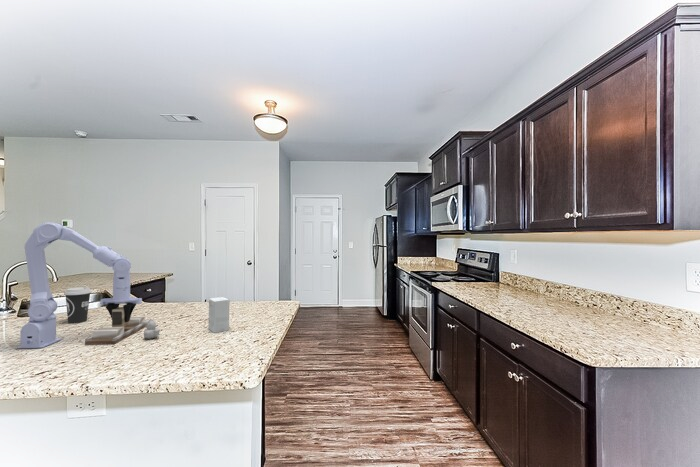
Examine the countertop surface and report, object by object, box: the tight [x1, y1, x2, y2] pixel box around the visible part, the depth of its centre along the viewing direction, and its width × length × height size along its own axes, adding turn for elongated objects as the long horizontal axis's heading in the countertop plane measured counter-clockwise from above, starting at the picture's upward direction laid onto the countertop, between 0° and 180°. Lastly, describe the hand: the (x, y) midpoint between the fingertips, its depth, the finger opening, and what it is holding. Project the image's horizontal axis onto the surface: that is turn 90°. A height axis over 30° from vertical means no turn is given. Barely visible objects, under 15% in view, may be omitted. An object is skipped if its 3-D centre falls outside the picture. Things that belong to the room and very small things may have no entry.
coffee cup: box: [63, 286, 92, 324], centre depth 146 cm, size 10×10×15 cm
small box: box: [207, 296, 230, 333], centre depth 137 cm, size 8×6×13 cm
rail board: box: [84, 315, 150, 346], centre depth 129 cm, size 26×10×4 cm, turn 7°
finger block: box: [111, 306, 130, 327], centre depth 129 cm, size 6×4×7 cm
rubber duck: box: [143, 317, 161, 340], centre depth 124 cm, size 5×7×8 cm
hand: (121, 321), depth 129 cm, fingers closed on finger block, 4 cm apart
